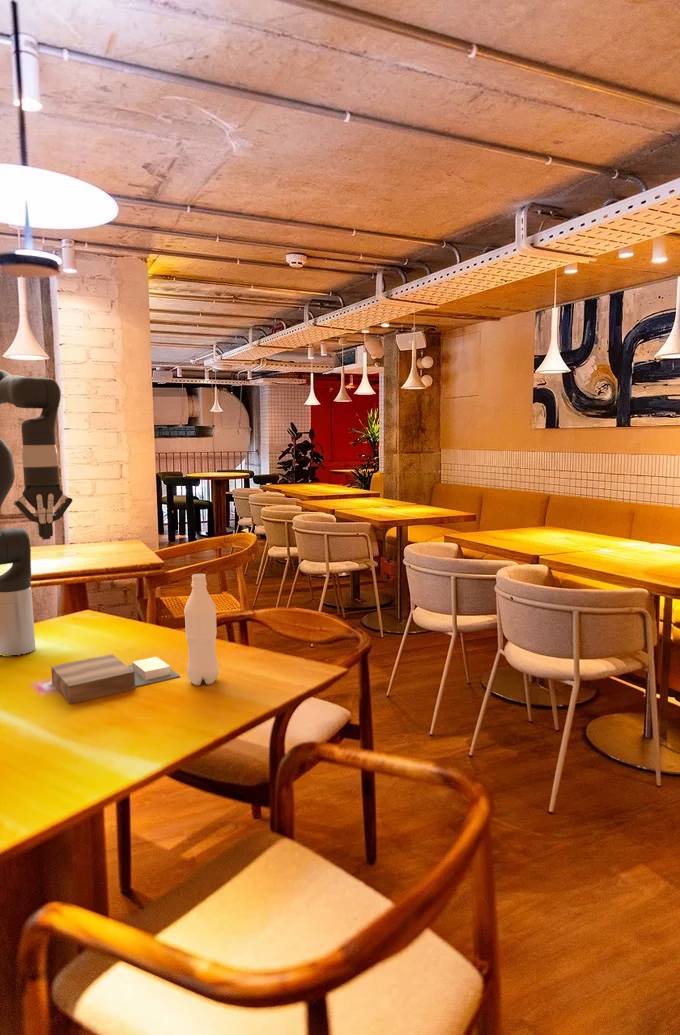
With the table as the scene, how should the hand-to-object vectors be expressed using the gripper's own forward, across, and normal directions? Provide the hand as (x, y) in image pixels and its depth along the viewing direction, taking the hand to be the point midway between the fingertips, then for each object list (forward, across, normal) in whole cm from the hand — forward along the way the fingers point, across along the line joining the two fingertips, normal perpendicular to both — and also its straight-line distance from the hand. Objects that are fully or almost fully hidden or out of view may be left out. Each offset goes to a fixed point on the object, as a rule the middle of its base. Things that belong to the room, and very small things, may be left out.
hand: (46, 538), depth 155 cm
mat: (+33, -18, +13) cm, 40 cm away
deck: (+33, -5, +14) cm, 36 cm away
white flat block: (+31, -19, +14) cm, 38 cm away
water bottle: (+33, -26, +27) cm, 50 cm away
